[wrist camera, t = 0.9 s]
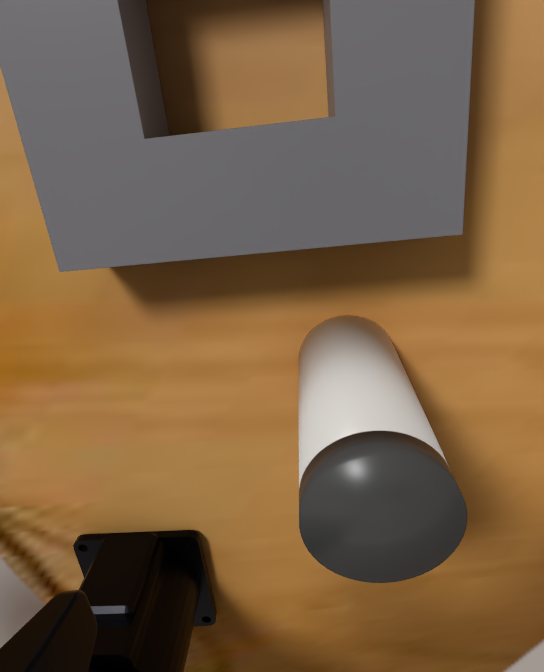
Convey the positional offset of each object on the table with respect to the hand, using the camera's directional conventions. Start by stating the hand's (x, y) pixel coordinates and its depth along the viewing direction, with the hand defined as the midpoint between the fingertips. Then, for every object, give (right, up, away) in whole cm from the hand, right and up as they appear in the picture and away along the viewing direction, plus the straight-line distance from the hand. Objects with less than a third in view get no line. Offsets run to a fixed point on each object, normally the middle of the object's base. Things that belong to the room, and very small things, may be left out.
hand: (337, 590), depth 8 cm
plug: (+2, +3, +12) cm, 12 cm away
